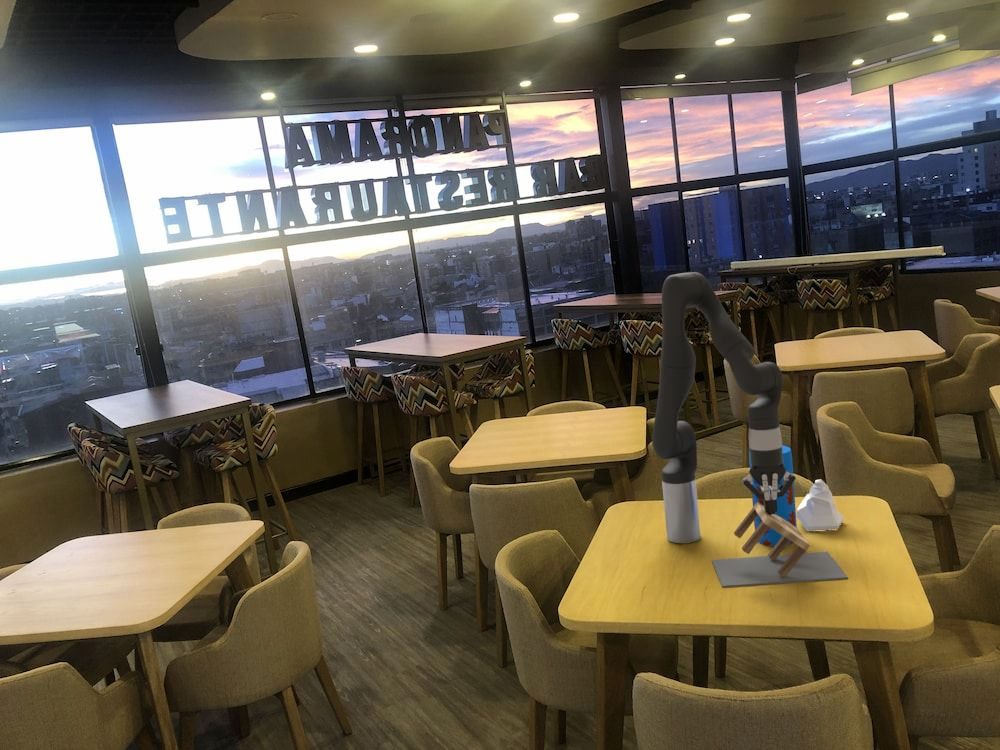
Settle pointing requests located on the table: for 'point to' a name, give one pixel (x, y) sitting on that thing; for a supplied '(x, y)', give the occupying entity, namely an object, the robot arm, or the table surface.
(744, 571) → the mat
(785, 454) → the thermos
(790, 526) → the stool
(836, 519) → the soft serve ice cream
